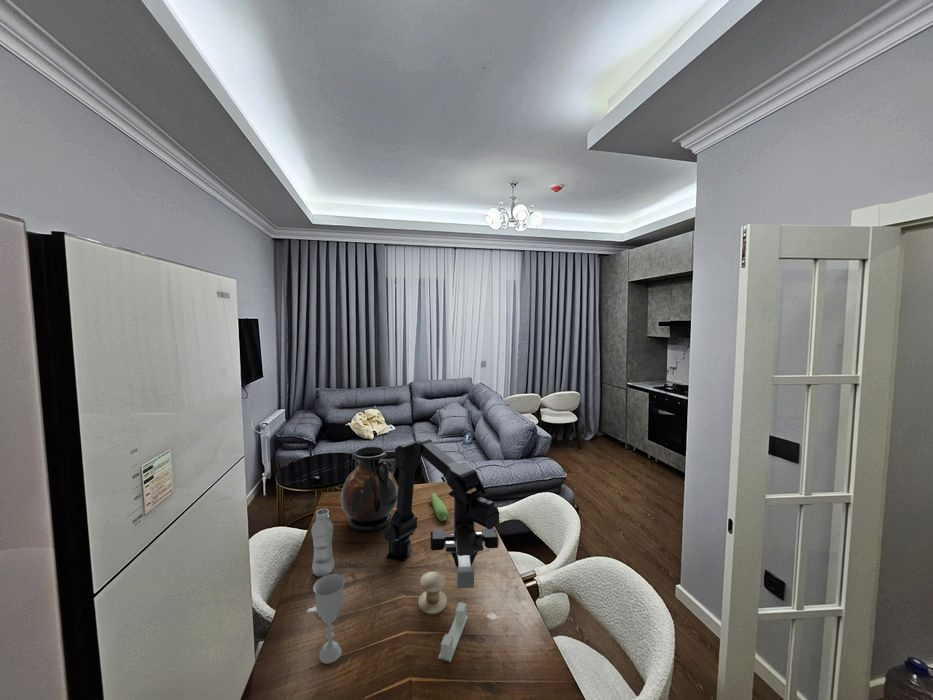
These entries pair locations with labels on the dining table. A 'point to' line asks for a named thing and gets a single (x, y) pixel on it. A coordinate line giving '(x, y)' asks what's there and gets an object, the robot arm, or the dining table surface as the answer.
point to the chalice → (329, 611)
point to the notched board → (453, 634)
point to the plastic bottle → (322, 544)
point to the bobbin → (432, 593)
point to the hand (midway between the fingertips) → (463, 567)
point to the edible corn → (439, 508)
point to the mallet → (465, 572)
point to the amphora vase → (369, 490)
